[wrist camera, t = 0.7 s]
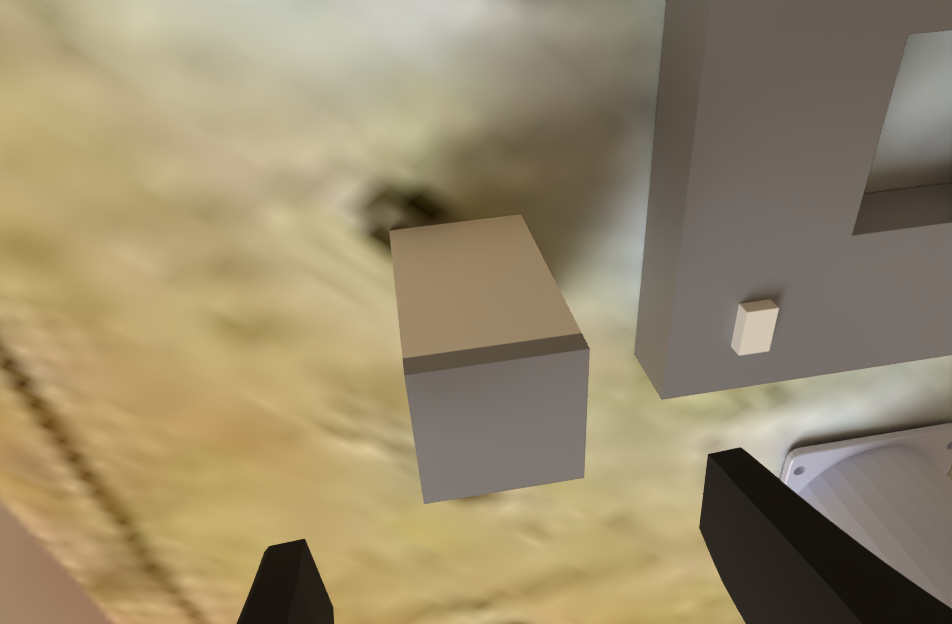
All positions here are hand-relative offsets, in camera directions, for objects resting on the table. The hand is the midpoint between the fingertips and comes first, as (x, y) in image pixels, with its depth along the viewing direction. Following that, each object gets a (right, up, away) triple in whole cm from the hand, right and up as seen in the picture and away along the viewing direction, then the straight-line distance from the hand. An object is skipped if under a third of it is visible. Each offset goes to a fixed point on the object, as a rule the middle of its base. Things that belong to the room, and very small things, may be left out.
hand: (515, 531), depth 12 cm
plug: (-1, +5, +9) cm, 10 cm away
